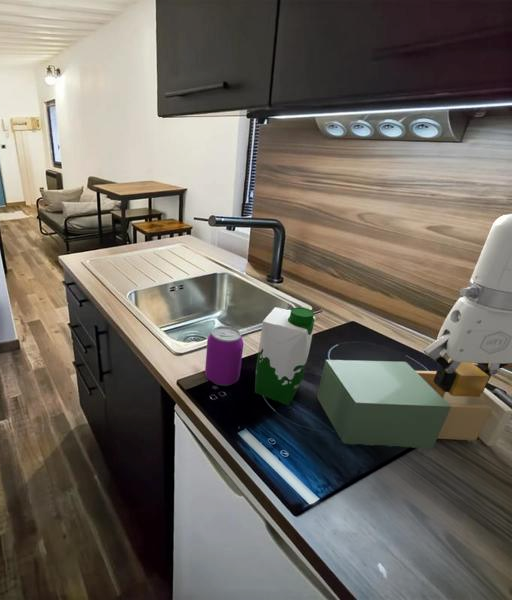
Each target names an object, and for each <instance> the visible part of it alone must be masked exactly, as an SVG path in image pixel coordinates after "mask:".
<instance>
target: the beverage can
mask: <svg viewBox="0 0 512 600" xmlns="http://www.w3.org/2000/svg"><path fill="white" fill-rule="evenodd" d="M243 352H244V340H243V337H242V334H241V331H240V330H239V329H237V328H236V327H233V326H227V325H219V326H216V327H214V328H212V329H211V331H210V334H209V335H208V338H207V342H206V353H205V354H206V355H205V356H206V357H205V367H204V368H205V369H204V373H205V377H206V378H207V379H208V380H209V381H210V382H211V383H213V384H215V385H218V386H223V387H226V386H231V385H234V384H236V383H237V382H238V381H239V379H240V375H241V368H242V359H243Z"/></svg>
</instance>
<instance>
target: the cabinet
mask: <svg viewBox="0 0 512 600" xmlns="http://www.w3.org/2000/svg"><path fill="white" fill-rule="evenodd" d="M416 371H417V370H415V369H414V368H413V367H412V366H411V365H410V364H409V363H408V362H407V361H394V360H393V361H392V360H391V361H390V360H389V361H388V360H386V361H385V360H355V359H354V360H351V359H350V360H349V359H347V360H346V359H325V362H324V366H323V370H322V375H321V378H320V383H319V387H318V391H317V395H316V398H317V400H318V402H319V404H320V405H321V407H322V409H323V411H324V412H325V414H326V416H327V417H328V420H329V421H330V423H331V425H332V427H333V428H334V430H335V432H336V434H337V436H338V438H339V439H340V438H341V439H340V441H341V443H342V442H343V443H345V444H344V445H356V444H364V445H363V446H374V445H388V446H387V447H392V446H403V447H402V448H410V447H411V449H413V448H414V449H430V450H431V449H433V448H434V446H435V444H436V442H437V440H438V435H439V433H440V431H441V429H442V426H443V424H444V422H445V420H446V418H447V415H448V413H449V411H450V409H451V406H450V405H449V404H448V403H447V402H446V401H445V400H444V399H443V398H442V397H441V396H440V395H439V394H438V393H437V392H436V391H435V390H434V389H433V388H432V387H431V386H430V385H429V384H428V383H427V382H426V381H425V380H424V379H423V378H422V377H421V376H420V375H419V374H418V373H417V372H416ZM343 443H342V444H343ZM346 443H347V444H346ZM389 445H391V446H389Z"/></svg>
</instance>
